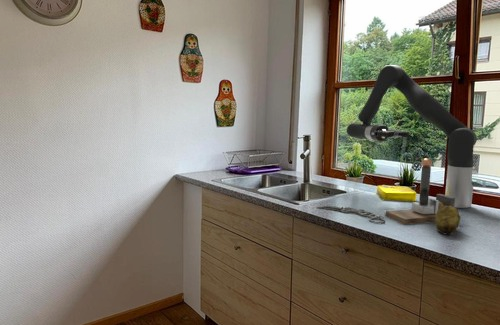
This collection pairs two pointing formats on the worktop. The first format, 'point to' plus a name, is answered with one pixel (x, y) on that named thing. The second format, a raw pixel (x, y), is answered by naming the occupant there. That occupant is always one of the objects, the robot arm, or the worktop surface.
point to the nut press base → (416, 217)
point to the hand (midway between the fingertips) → (399, 134)
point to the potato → (447, 219)
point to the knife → (359, 212)
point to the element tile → (396, 193)
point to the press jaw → (425, 192)
